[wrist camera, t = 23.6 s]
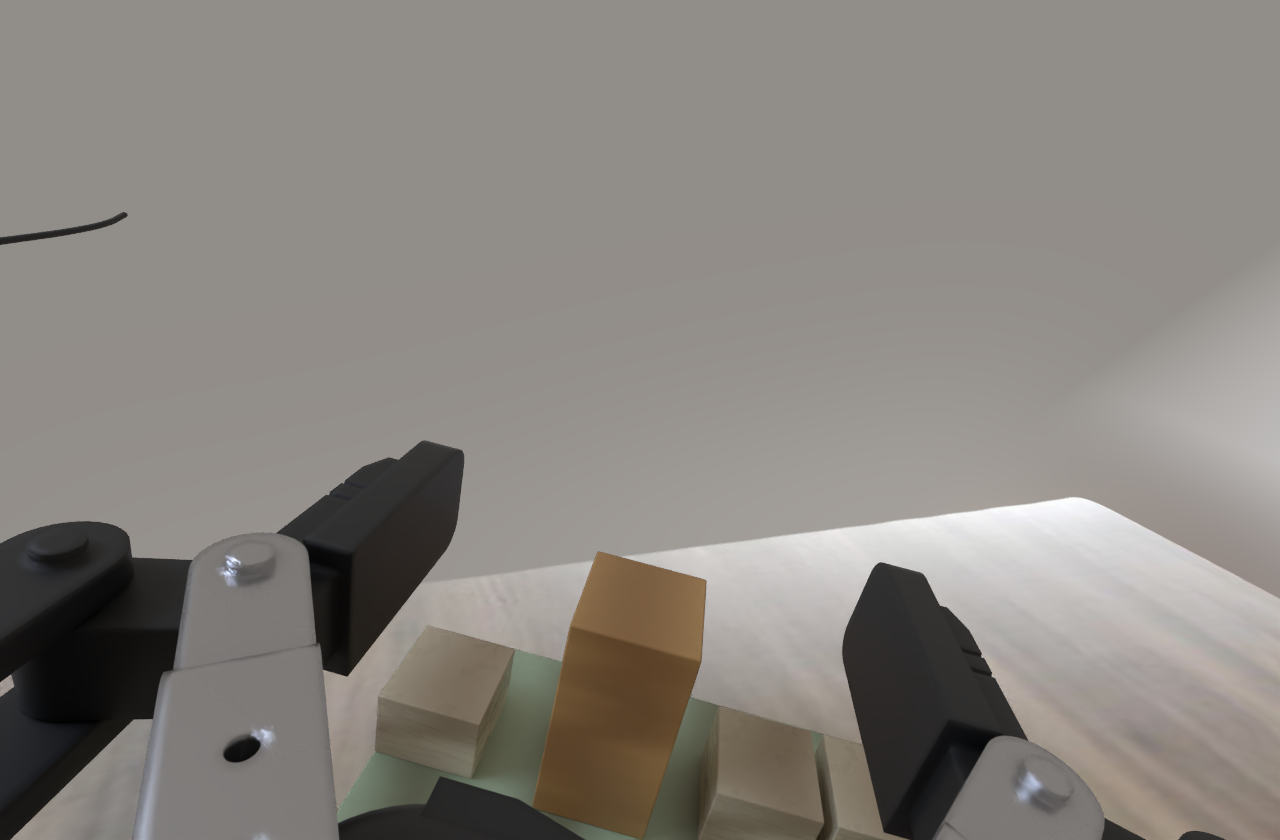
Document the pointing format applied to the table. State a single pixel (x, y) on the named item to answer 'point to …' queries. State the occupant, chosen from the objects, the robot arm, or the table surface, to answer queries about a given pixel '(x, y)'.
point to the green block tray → (516, 734)
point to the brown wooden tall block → (621, 694)
